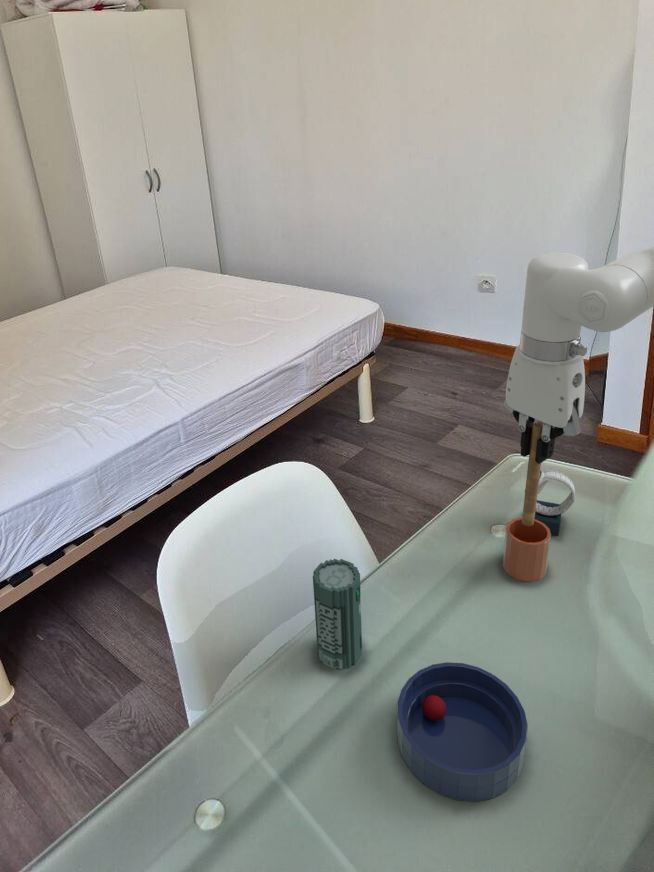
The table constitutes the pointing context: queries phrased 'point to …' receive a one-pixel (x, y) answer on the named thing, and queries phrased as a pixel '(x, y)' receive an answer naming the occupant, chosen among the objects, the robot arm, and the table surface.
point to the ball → (434, 708)
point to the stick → (532, 477)
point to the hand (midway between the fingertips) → (535, 455)
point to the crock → (526, 550)
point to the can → (338, 613)
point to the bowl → (462, 732)
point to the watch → (552, 511)
